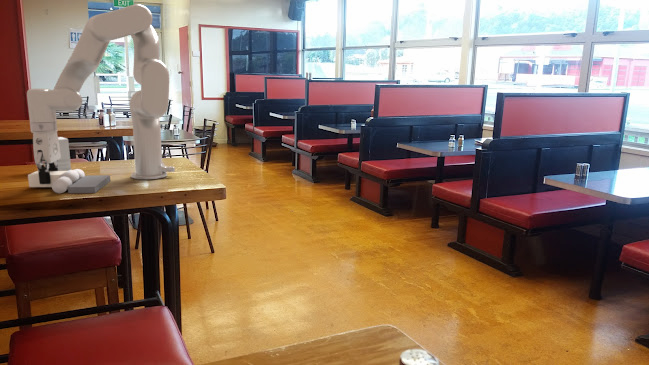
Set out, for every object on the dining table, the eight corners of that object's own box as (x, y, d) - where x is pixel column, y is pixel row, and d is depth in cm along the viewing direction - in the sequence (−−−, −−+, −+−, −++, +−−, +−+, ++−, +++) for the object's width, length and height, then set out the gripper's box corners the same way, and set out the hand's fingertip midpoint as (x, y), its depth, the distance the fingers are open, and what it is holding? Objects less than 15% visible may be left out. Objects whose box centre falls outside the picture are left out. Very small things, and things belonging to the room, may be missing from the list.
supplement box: (65, 168, 194) (62, 136, 191) (71, 171, 189) (68, 138, 186) (44, 170, 189) (41, 138, 186) (50, 173, 184) (47, 140, 181)
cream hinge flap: (79, 182, 167) (78, 169, 166) (73, 186, 161) (72, 173, 160) (37, 182, 165) (35, 170, 164) (29, 187, 159) (27, 173, 158)
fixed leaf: (110, 180, 174) (109, 168, 173) (95, 192, 157) (94, 179, 156) (72, 181, 172) (70, 168, 172) (52, 193, 155) (50, 179, 154)
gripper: (45, 130, 151) (51, 187, 155) (65, 124, 168) (70, 176, 172) (19, 130, 150) (25, 187, 154) (42, 124, 167) (47, 176, 171)
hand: (49, 181), depth 163 cm, fingers closed on cream hinge flap, 6 cm apart
